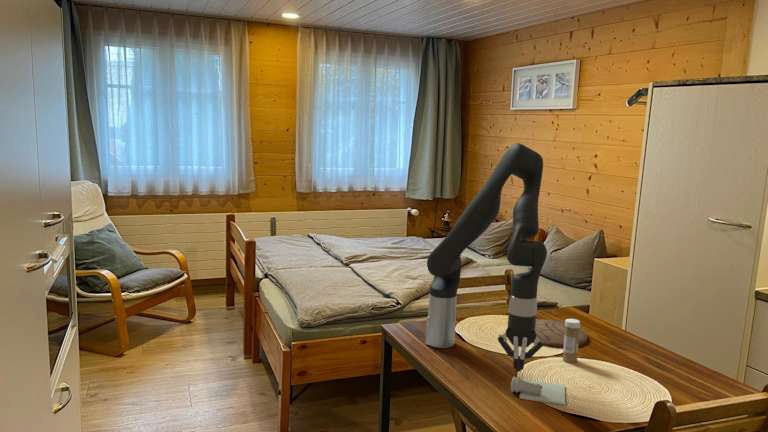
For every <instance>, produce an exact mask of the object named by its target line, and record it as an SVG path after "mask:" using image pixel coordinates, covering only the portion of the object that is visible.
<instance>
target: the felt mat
mask: <svg viewBox="0 0 768 432" xmlns="http://www.w3.org/2000/svg"><path fill="white" fill-rule="evenodd" d="M521 380H523V381H525V382H528V383H531V384H535V385H537V384H540V385H541V386H542V389H541V391H542V393H541V395H536V394H535V393H532V394H531V393H530V392H524V391H522V392H519V400H520V399H522V400H527V401H536V402H541V403H548V404H554V405H560V406H566V390H565V388H566V387H565V385H564V384H557V383H551V382H546V381H538V380H531V379H524V378H521Z"/></svg>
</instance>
